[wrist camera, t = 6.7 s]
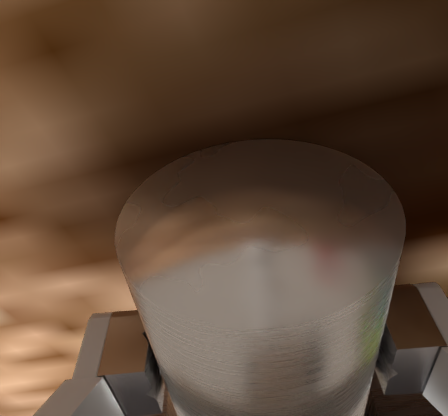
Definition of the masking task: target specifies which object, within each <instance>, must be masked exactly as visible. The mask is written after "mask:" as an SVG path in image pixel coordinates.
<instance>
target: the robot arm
mask: <svg viewBox="0 0 448 416" xmlns="http://www.w3.org/2000/svg"><path fill="white" fill-rule="evenodd" d="M375 371H376V374H377V376H378V379H379V382H380V385H381V387H382V390H383V393H384V395H393V394H411V393H423V396H424V397H425V398H426V399H427V400H428V401H429V402H430V403H431V404H432V405H433V406H434V407H435V408H436V409H437V410H438V411H439V412H440V413H441V414H442V415H443V416H448V299H447V297H446V295H445V294H444V292H443V290H442V289H441V287H440V285H438V284H437V283H436V282H430V283H420V284H412V285H411V284H404V285H395V286H394V288H393V293H392V297H391V301H390V306H389V310H388V314H387V319H386V323H385V327H384V331H383V336H382V340H381V344H380V349H379V353H378V357H377V362H376V366H375ZM164 389H165V384H164V382H163V379H162V376H161V371H160V369H159V366H158V363H157V361H156V358H155V355H154V353H153V350H152V347H151V345H150V342H149V339H148V337H147V334H146V331H145V329H144V326H143V324H142V321H141V318H140V316H139V313H138V310H134V311H119V312H105V313H94V314H92V316H91V317H90V319H89V320H88V323H87V327H86V331H85V334H84V338H83V341H82V345H81V348H80V352H79V355H78V359H77V363H76V366H75V370H74V373H73V377H72V379H69V380H65V381H64V382H63V383H62V384H61V385H60V386H59V388H58V389H57V390H56V391H55V392H54V393H53V394H52V395H51V396H50V397H49V398H48V400H47V401H46V402H45V403H44V404H43V405H42V406H41V407H40V408H39V409H38V411H37V412H36V413H35V414H34V415H33V416H142V415H151V414H160V413H162V410H163V400H164Z"/></svg>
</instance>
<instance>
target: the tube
mask: <svg viewBox="0 0 448 416" xmlns="http://www.w3.org/2000/svg"><path fill="white" fill-rule="evenodd" d="M405 235H406V219H405V215H404V211H403V207H402V205H401V203H400V200H399V198H398V196H397V195H396V193H395V192H394V190H393V189H392V187H391V186H390V185H389V184H388V183H387V182H386V181H385V179H384V178H383V177H382V176H381V175H379V174H378V173H377V172H376V171H374V170H373V169H372V168H371V167H369V166H367V165H366V164H364V163H363V162H361V161H359V160H358V159H355V158H353V157H351V156H349V155H347V154H345V153H342V152H340V151H337V150H334V149H331V148H328V147H324V146H321V145H317V144H312V143H307V142H301V141H293V140H280V139H258V140H245V141H237V142H230V143H225V144H220V145H216V146H212V147H209V148H205V149H202V150H199V151H196V152H193V153H191V154H188V155H186V156H183V157H181V158H179V159H177V160H175V161H173V162H171V163H169V164H167V165H166V166H164V167H163V168H161V169H159V170H158V171H156V172H155V173H154V174H152V175H151V176H150V177H148V178H147V179H146V180H145V181H144V182H143V183H142V184H141V185H140V186H139V187H137V188H136V190H135V191H134V192H133V193H132V195H131V196H130V197H129V198H128V200H127V201H126V203H125V205H124V206H123V208H122V210H121V213H120V215H119V217H118V220H117V225H116V229H115V248H116V253H117V257H118V260H119V263H120V265H121V268H122V271H123V273H124V276H125V279H126V281H127V284H128V286H129V289H130V292H131V294H132V297H133V300H134V302H135V305H136V308H137V310H138V313H139V316H140V318H141V321H142V324H143V326H144V329H145V331H146V334H147V337H148V339H149V342H150V345H151V347H152V350H153V353H154V355H155V358H156V361H157V363H158V366H159V369H160V371H161V374H162V376H163V379H164V382H165V384H166V387H167V390H168V392H169V395H170V398H171V400H172V403H173V406H174V408H175V411H176V414H177V416H364V413H365V409H366V405H367V400H368V396H369V392H370V387H371V383H372V379H373V374H374V370H375V366H376V362H377V357H378V353H379V349H380V344H381V340H382V336H383V331H384V327H385V323H386V319H387V314H388V310H389V306H390V301H391V297H392V293H393V288H394V284H395V280H396V276H397V271H398V267H399V263H400V258H401V254H402V250H403V245H404V240H405Z"/></svg>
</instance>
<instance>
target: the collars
mask: <svg viewBox="0 0 448 416" xmlns="http://www.w3.org/2000/svg"><path fill="white" fill-rule="evenodd" d="M161 376H162V374H161ZM162 379H163V376H162ZM163 382H164V379H163ZM164 384H165V382H164ZM142 416H177V414H176V411H175V408H174V406H173V403H172V400H171V398H170V395H169V392H168V390H167V387H166V384H165V389H164V400H163V410H162V413H160V414H151V415H142ZM364 416H443V415H442V414H441V413H440V412H439V411H438V410H437V409H436V408H435V407H434V406H433V405H432V404H431V403H430V402H429V401H428V400H427V399H426V398H425V397H424V396H423V393H411V394H393V395H384V393H383V390H382V387H381V385H380V382H379V379H378V376H377V374H376V371H375V370H374V374H373V379H372V383H371V387H370V392H369V396H368V400H367V405H366V409H365V413H364Z"/></svg>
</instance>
